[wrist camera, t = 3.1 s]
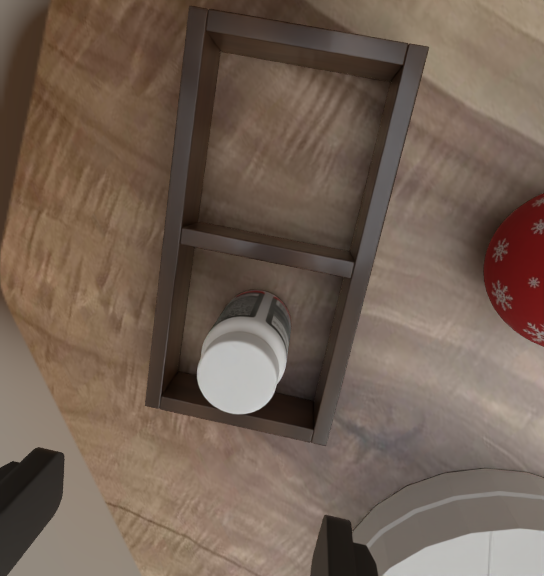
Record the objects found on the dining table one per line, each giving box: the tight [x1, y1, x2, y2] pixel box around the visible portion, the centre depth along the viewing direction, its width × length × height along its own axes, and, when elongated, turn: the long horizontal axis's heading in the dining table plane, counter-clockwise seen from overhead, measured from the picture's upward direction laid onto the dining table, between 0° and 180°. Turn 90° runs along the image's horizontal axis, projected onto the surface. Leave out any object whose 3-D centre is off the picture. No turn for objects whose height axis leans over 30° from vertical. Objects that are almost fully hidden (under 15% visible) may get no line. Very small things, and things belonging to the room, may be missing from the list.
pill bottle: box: [197, 290, 291, 414], centre depth 24 cm, size 5×5×8 cm
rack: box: [145, 6, 429, 446], centre depth 25 cm, size 12×23×4 cm, turn 169°
